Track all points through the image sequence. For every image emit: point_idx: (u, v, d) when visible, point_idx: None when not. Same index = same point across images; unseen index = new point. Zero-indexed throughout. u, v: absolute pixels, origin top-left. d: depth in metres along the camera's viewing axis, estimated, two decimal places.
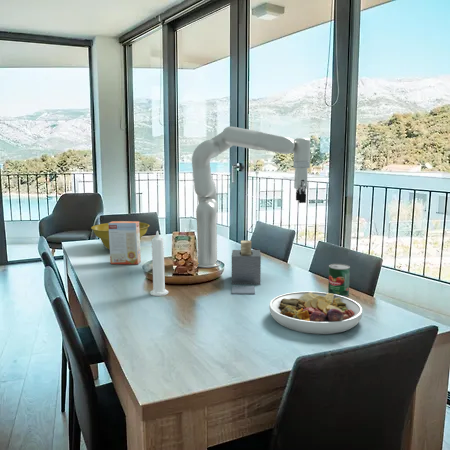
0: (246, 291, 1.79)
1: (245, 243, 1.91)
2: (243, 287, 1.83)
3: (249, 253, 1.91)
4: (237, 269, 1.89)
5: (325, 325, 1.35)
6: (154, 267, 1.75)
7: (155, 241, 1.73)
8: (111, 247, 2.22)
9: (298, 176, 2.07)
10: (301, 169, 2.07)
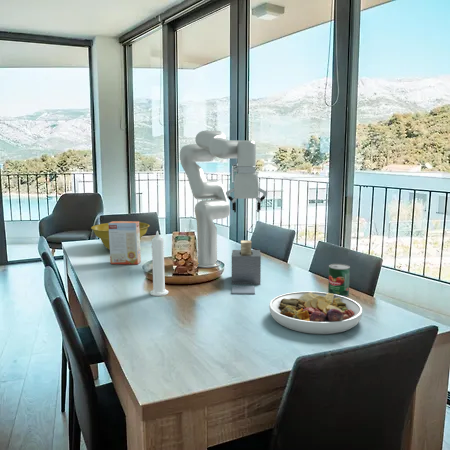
0: (246, 291, 1.79)
1: (245, 243, 1.91)
2: (243, 287, 1.83)
3: (249, 253, 1.91)
4: (237, 269, 1.89)
5: (325, 325, 1.35)
6: (154, 267, 1.75)
7: (155, 241, 1.73)
8: (111, 247, 2.22)
9: (257, 183, 1.86)
10: (257, 175, 1.87)
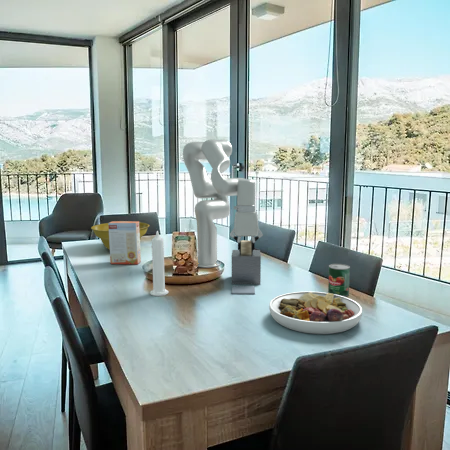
0: (246, 291, 1.79)
1: (245, 243, 1.91)
2: (243, 287, 1.83)
3: (249, 253, 1.91)
4: (237, 269, 1.89)
5: (325, 325, 1.35)
6: (154, 267, 1.75)
7: (155, 241, 1.73)
8: (111, 247, 2.22)
9: (257, 221, 1.89)
10: None
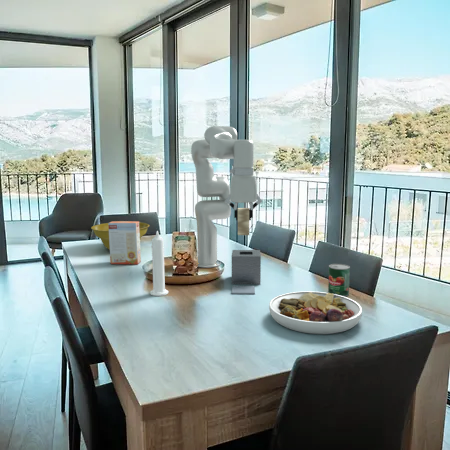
0: (246, 291, 1.79)
1: (242, 210, 1.74)
2: (243, 287, 1.83)
3: (246, 221, 1.74)
4: (237, 269, 1.89)
5: (325, 325, 1.35)
6: (154, 267, 1.75)
7: (155, 241, 1.73)
8: (111, 247, 2.22)
9: (255, 186, 1.72)
10: None
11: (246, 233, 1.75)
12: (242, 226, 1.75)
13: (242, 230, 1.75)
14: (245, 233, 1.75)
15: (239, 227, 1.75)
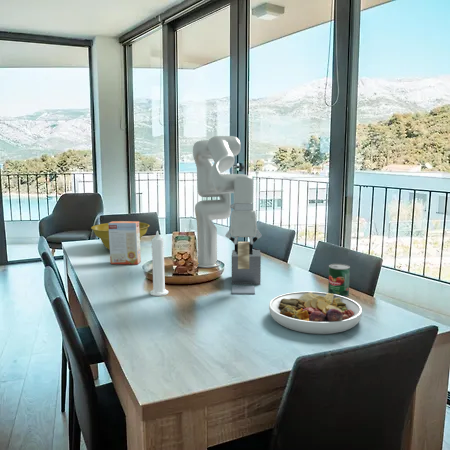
0: (246, 291, 1.79)
1: (242, 244, 1.76)
2: (243, 287, 1.83)
3: (246, 255, 1.76)
4: (237, 269, 1.89)
5: (324, 325, 1.35)
6: (154, 267, 1.75)
7: (155, 241, 1.73)
8: (111, 247, 2.22)
9: (255, 221, 1.74)
10: None
11: (246, 267, 1.77)
12: (242, 260, 1.77)
13: (242, 264, 1.77)
14: (245, 267, 1.77)
15: (240, 261, 1.77)
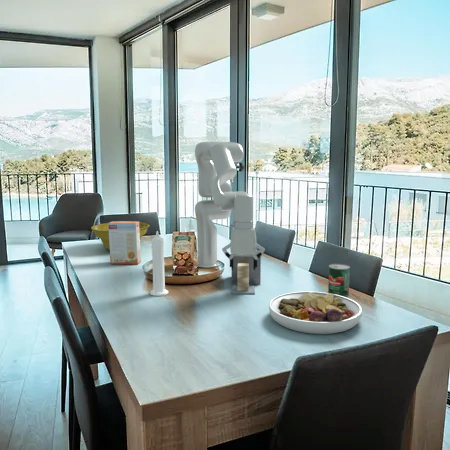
0: (246, 291, 1.79)
1: (242, 267, 1.77)
2: None
3: (246, 277, 1.78)
4: None
5: (324, 325, 1.35)
6: (154, 267, 1.75)
7: (155, 241, 1.73)
8: (111, 247, 2.22)
9: (255, 239, 1.75)
10: None
11: (246, 289, 1.79)
12: (242, 282, 1.78)
13: (242, 286, 1.79)
14: (245, 289, 1.79)
15: (239, 283, 1.79)
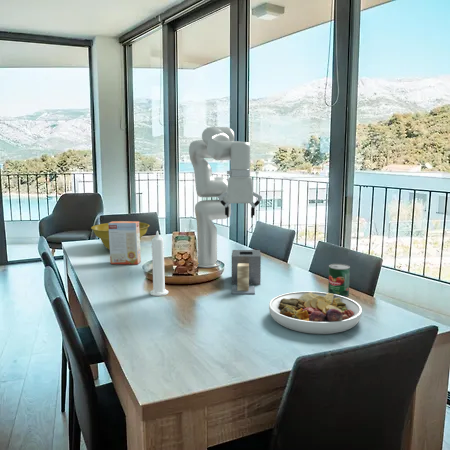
0: (246, 291, 1.79)
1: (242, 267, 1.77)
2: None
3: (246, 277, 1.78)
4: None
5: (324, 325, 1.35)
6: (154, 267, 1.75)
7: (155, 241, 1.73)
8: (111, 247, 2.22)
9: (252, 187, 1.76)
10: (251, 179, 1.76)
11: (246, 289, 1.79)
12: (242, 282, 1.78)
13: (242, 286, 1.79)
14: (245, 289, 1.79)
15: (239, 283, 1.79)
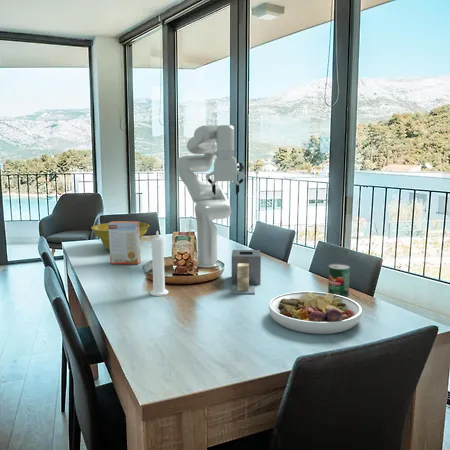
0: (246, 291, 1.79)
1: (242, 267, 1.77)
2: None
3: (246, 277, 1.78)
4: None
5: (324, 325, 1.35)
6: (154, 267, 1.75)
7: (155, 241, 1.73)
8: (111, 247, 2.22)
9: (236, 166, 1.93)
10: None
11: (246, 289, 1.79)
12: (242, 282, 1.78)
13: (242, 286, 1.79)
14: (245, 289, 1.79)
15: (239, 283, 1.79)
